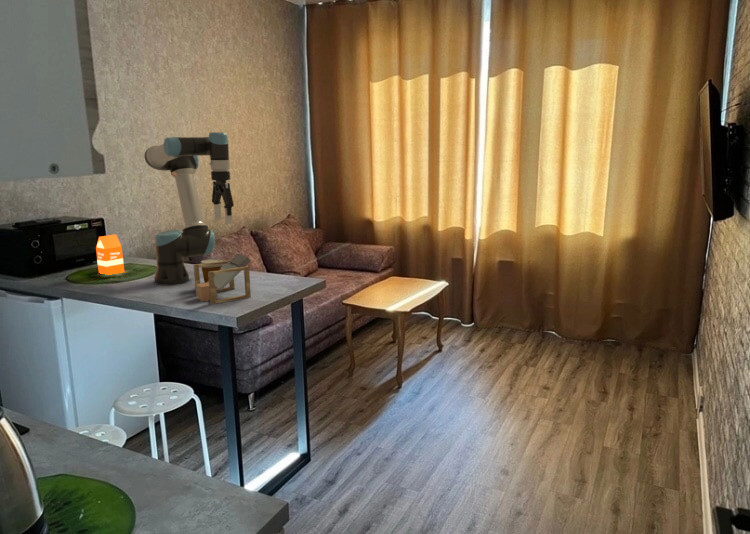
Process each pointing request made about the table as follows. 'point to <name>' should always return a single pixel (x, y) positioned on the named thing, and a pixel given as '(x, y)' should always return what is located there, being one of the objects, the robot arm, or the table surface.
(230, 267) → the trapdoor
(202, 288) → the block
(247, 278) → the frame
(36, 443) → the table surface
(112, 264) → the orange juice
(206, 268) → the disposable coffee cup
